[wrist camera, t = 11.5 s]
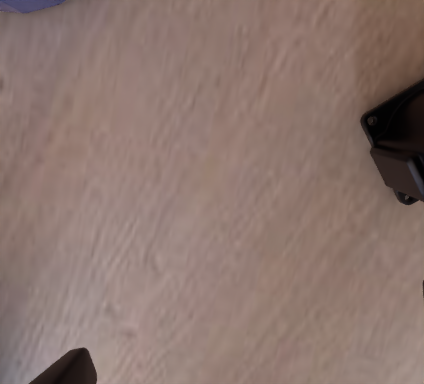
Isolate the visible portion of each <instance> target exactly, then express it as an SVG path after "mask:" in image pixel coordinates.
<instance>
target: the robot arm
mask: <svg viewBox="0 0 424 384" xmlns="http://www.w3.org/2000/svg"><path fill="white" fill-rule="evenodd" d="M369 117H372V118H373V122H372V123H371V124H368V121H367V120H368V118H369ZM360 123H361V126H362V128H363V130H364V132H365V134H366V136H367V138H368V140H369V142H370V144H371V146H372V148H371V150H370V154H371V156H372V158H373V160H374V162H375V164H376V166H377V168H378V170H379V172H380V174H381V176H382V178H383V180H384V182H385V184H386V186H388V187H391V188H393V190H394V192H395V195H396V197H397V199H398V200H399V202H401V203H403V204H405V205H411V204H413V203H415V202H417V201H419V200H421V201H423V202H424V78H423V79H422V80H420V81H418V82H417V83H415V84H413V85H412V86H410V87H408V88H407V89H405V90H403V91H402V92H400V93H398V94H396V95H395V96H393V97H391V98H390V99H388V100H386V101H385V102H383V103H381V104H380V105H378V106H376V107H375V108H373V109H371V110H370V111H368V112H366V113H365V114H363V115H362V117H361V120H360ZM406 195H409V198H408V199H406V200H405V196H406ZM423 296H424V280H423ZM96 383H97V373H96V370H95V367H94V364H93V362H92V359H91V356H90V354H89V351H88V350H87V349H86V348H84V347H83V348H78V349H73V350H70V351H68V352H67V353H66V354H65V355H64V356H62V357H61V358H60V359H59V360H57V361H56V362H55V363H54V364H52V365H51V366H50V367H49V368H48V369H46V370H45V371H44V372H43V373H41V374H40V375H39V376H38V377H36V378H35V379H34V380H33V381H31V382H30V383H29V384H96Z"/></svg>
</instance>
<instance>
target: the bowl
mask: <svg viewBox="0 0 424 384" xmlns="http://www.w3.org/2000/svg"><path fill="white" fill-rule="evenodd" d="M64 1H65V0H0V11H3V12H15V13H29V12H33V11H36V10H40V9H44V8H48V7H51V6H55V5H59V4H61V3H63V2H64Z"/></svg>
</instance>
